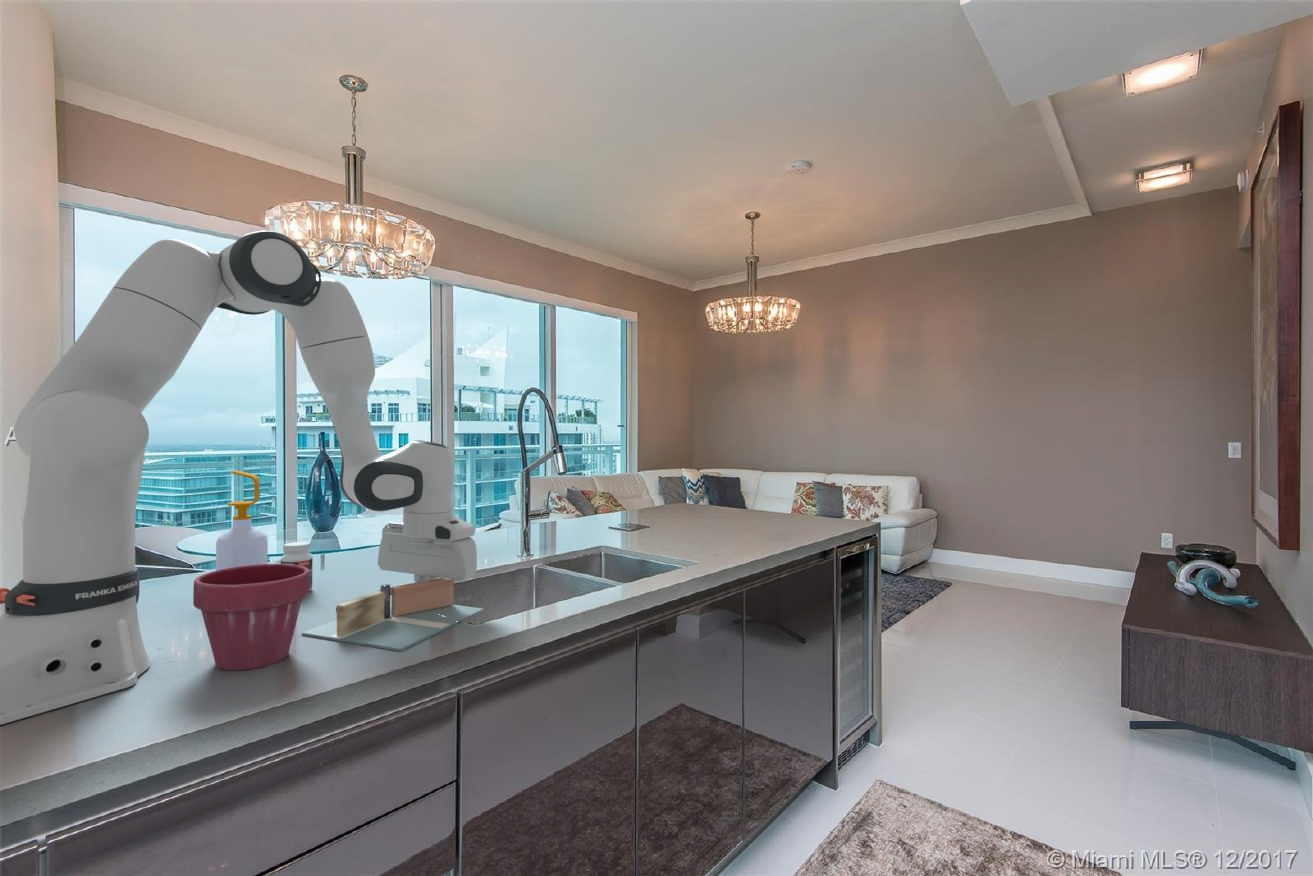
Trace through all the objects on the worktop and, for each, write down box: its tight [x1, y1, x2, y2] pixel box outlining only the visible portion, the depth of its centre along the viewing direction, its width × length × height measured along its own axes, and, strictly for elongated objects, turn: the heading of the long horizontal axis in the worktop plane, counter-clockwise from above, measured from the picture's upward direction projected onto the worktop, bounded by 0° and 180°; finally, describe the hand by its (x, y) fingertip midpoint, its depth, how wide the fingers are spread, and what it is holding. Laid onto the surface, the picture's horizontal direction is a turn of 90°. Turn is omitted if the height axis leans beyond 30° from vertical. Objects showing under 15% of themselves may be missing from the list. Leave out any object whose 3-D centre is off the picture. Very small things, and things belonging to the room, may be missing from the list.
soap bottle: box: [215, 469, 269, 571], centre depth 129 cm, size 9×9×25 cm
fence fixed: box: [335, 590, 385, 636], centre depth 104 cm, size 9×2×5 cm, turn 162°
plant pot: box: [192, 563, 310, 671], centre depth 90 cm, size 14×14×13 cm
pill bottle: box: [280, 541, 314, 592], centre depth 126 cm, size 6×6×10 cm
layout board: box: [301, 599, 485, 652], centre depth 108 cm, size 22×20×1 cm
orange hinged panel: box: [390, 578, 455, 616], centre depth 113 cm, size 11×2×5 cm, turn 132°
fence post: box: [380, 583, 391, 619], centre depth 109 cm, size 2×2×6 cm
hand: (425, 597), depth 116 cm, fingers closed
